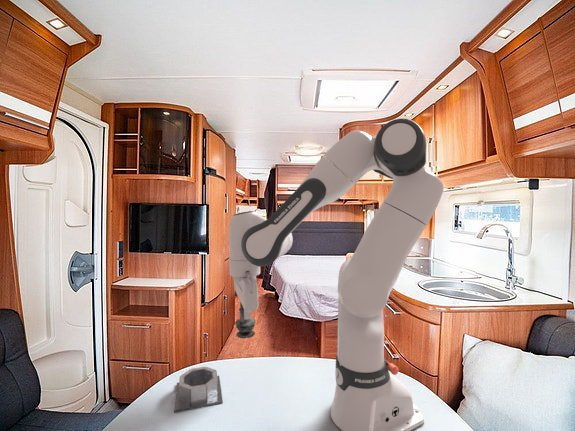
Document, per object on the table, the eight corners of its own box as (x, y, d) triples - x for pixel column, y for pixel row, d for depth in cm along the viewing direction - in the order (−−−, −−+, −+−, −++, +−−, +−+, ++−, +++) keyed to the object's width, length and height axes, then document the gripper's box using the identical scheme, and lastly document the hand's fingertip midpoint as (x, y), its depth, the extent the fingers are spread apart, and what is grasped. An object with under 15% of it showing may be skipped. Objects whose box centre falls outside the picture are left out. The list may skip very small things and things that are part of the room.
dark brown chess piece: (252, 339, 81) (251, 296, 80) (232, 338, 82) (231, 295, 81) (258, 330, 87) (257, 290, 86) (239, 329, 88) (238, 289, 87)
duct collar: (219, 377, 89) (219, 362, 88) (222, 403, 77) (222, 386, 77) (176, 384, 85) (176, 369, 85) (174, 412, 74) (173, 394, 73)
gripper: (263, 275, 75) (264, 328, 75) (249, 260, 94) (250, 303, 95) (239, 277, 73) (240, 331, 73) (229, 262, 92) (230, 305, 93)
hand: (245, 315), depth 84 cm, fingers closed on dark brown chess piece, 3 cm apart
